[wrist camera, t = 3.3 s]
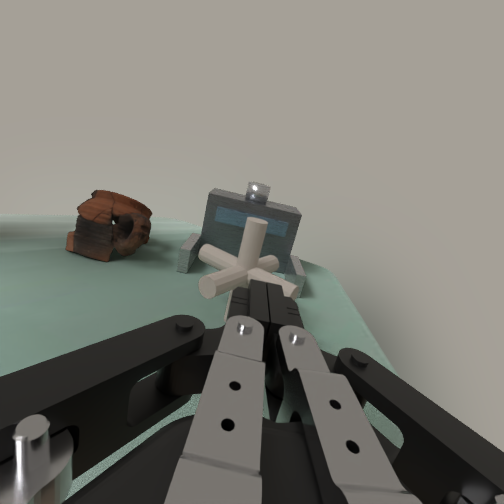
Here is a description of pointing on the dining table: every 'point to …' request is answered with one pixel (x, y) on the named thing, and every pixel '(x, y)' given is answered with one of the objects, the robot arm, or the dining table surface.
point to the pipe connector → (241, 265)
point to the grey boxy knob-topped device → (233, 225)
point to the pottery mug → (109, 226)
